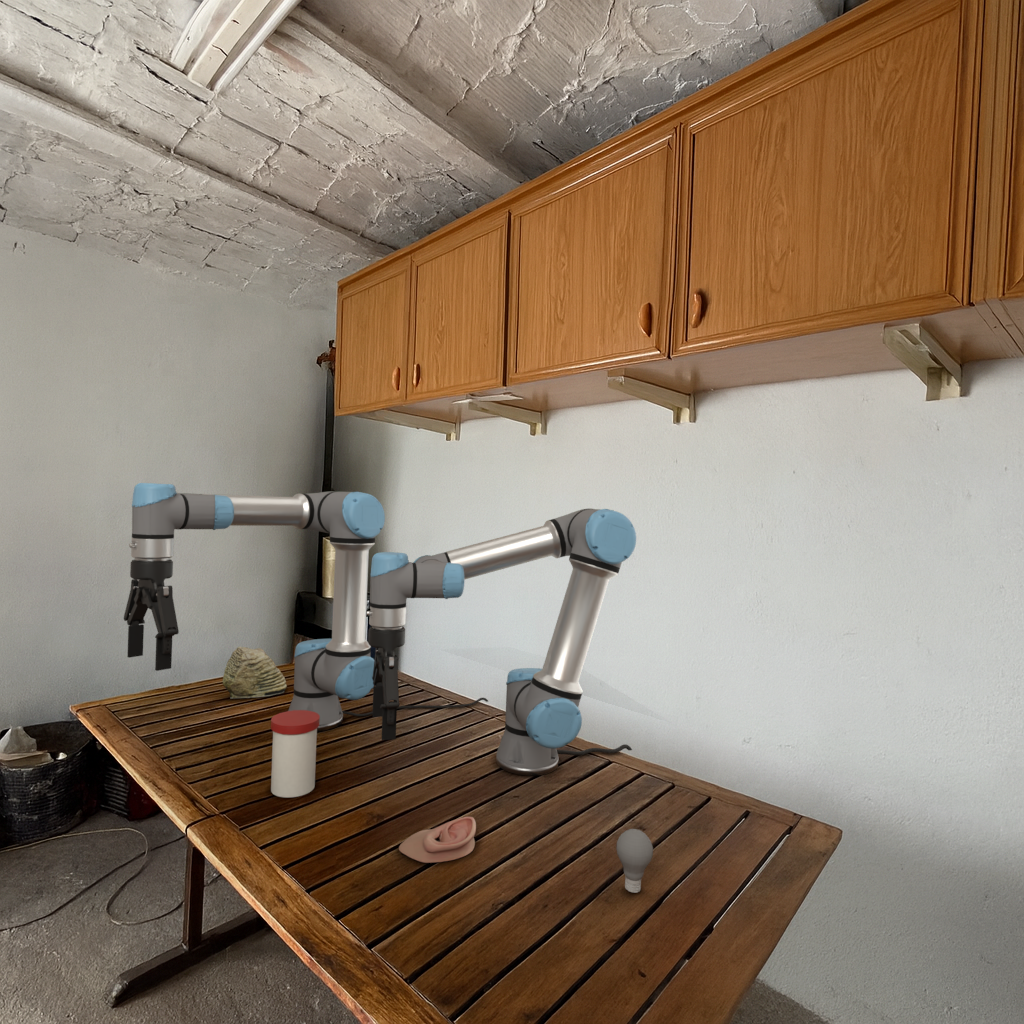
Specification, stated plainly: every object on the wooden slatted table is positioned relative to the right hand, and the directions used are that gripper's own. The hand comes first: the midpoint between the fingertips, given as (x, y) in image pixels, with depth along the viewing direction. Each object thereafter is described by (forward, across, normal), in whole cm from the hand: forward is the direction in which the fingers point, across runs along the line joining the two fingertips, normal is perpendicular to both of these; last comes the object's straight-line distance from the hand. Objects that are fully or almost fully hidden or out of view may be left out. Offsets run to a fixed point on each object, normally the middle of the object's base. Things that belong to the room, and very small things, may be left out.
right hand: (383, 727), depth 133 cm
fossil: (+16, -79, -28) cm, 85 cm away
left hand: (-12, -13, -46) cm, 49 cm away
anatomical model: (+16, +20, +7) cm, 27 cm away
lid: (+1, -11, -17) cm, 20 cm away
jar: (+16, -11, -17) cm, 26 cm away
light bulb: (+16, +42, +36) cm, 57 cm away
